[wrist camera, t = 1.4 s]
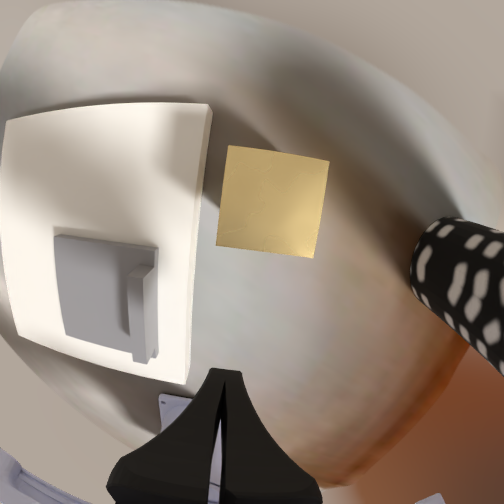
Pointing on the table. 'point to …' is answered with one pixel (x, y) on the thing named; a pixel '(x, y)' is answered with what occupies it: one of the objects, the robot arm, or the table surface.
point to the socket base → (105, 214)
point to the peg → (271, 201)
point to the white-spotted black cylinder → (464, 282)
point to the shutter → (109, 293)
